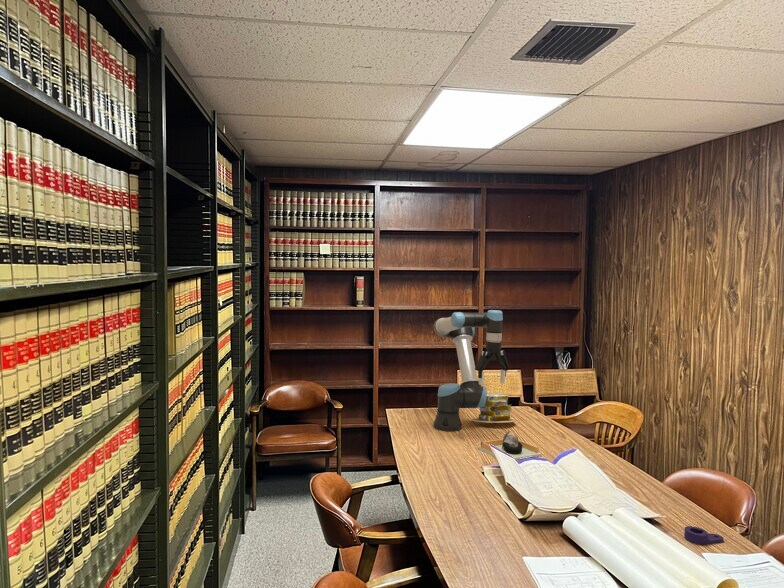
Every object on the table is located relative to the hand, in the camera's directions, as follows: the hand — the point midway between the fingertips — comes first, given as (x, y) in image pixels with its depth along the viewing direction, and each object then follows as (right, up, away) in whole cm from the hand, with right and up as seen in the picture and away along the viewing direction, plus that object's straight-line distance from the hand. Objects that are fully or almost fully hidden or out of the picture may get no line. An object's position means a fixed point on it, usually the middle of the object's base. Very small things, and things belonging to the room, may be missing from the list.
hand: (491, 383), depth 261 cm
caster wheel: (+6, -28, -17) cm, 34 cm away
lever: (+48, -33, -96) cm, 113 cm away
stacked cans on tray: (+7, -29, +36) cm, 46 cm away
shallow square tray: (+5, -29, -17) cm, 34 cm away
